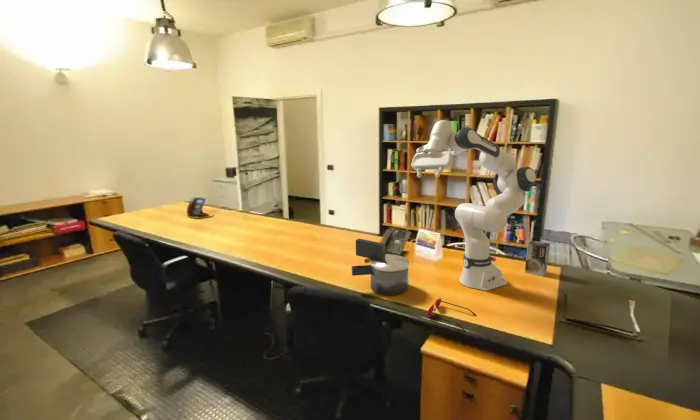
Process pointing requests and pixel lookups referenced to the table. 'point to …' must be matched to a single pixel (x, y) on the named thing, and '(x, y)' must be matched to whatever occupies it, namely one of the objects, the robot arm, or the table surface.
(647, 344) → the table surface
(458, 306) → the glasses
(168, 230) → the table surface
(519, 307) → the table surface
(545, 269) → the coffee box
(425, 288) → the table surface
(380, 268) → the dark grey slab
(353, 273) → the pot
